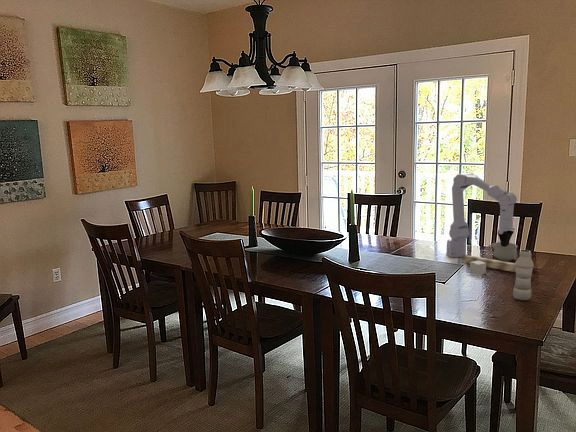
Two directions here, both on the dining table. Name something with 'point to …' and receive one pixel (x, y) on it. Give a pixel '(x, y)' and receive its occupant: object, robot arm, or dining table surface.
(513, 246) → the teacup
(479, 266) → the grey block
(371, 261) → the dining table surface
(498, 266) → the bar
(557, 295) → the dining table surface
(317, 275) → the dining table surface
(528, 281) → the plastic bottle
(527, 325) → the dining table surface
